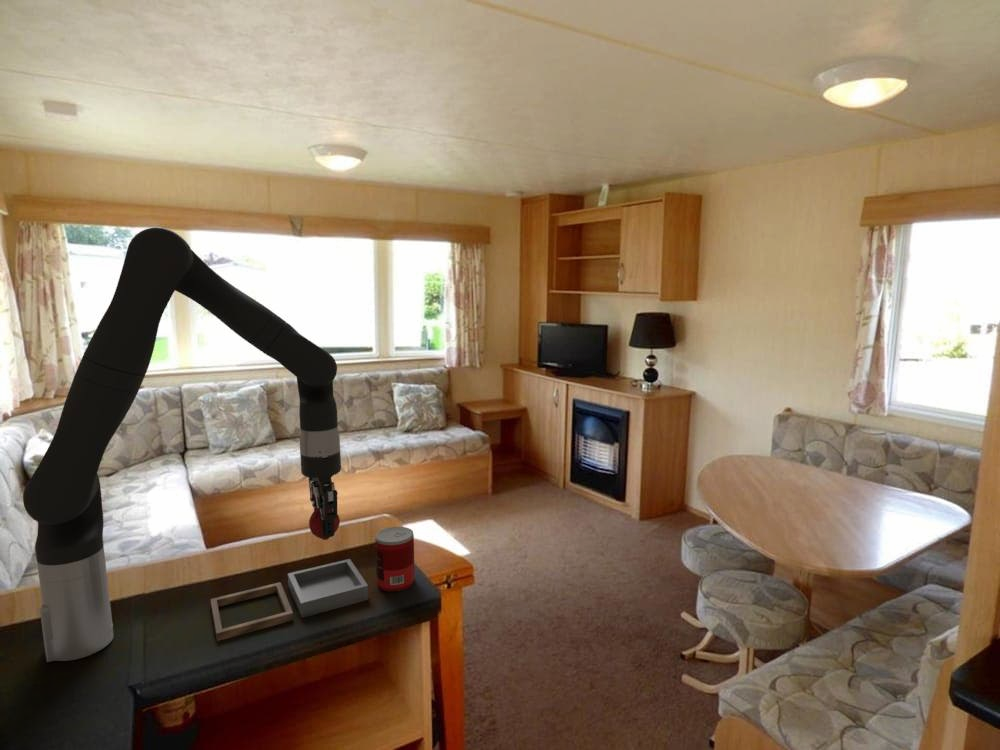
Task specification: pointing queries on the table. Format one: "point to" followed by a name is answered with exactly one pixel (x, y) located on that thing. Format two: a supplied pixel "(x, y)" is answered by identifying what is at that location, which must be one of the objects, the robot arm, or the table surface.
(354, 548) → the table surface
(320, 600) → the bin
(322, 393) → the robot arm
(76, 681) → the table surface
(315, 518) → the onion
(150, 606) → the table surface
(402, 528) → the canned food
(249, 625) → the square frame
